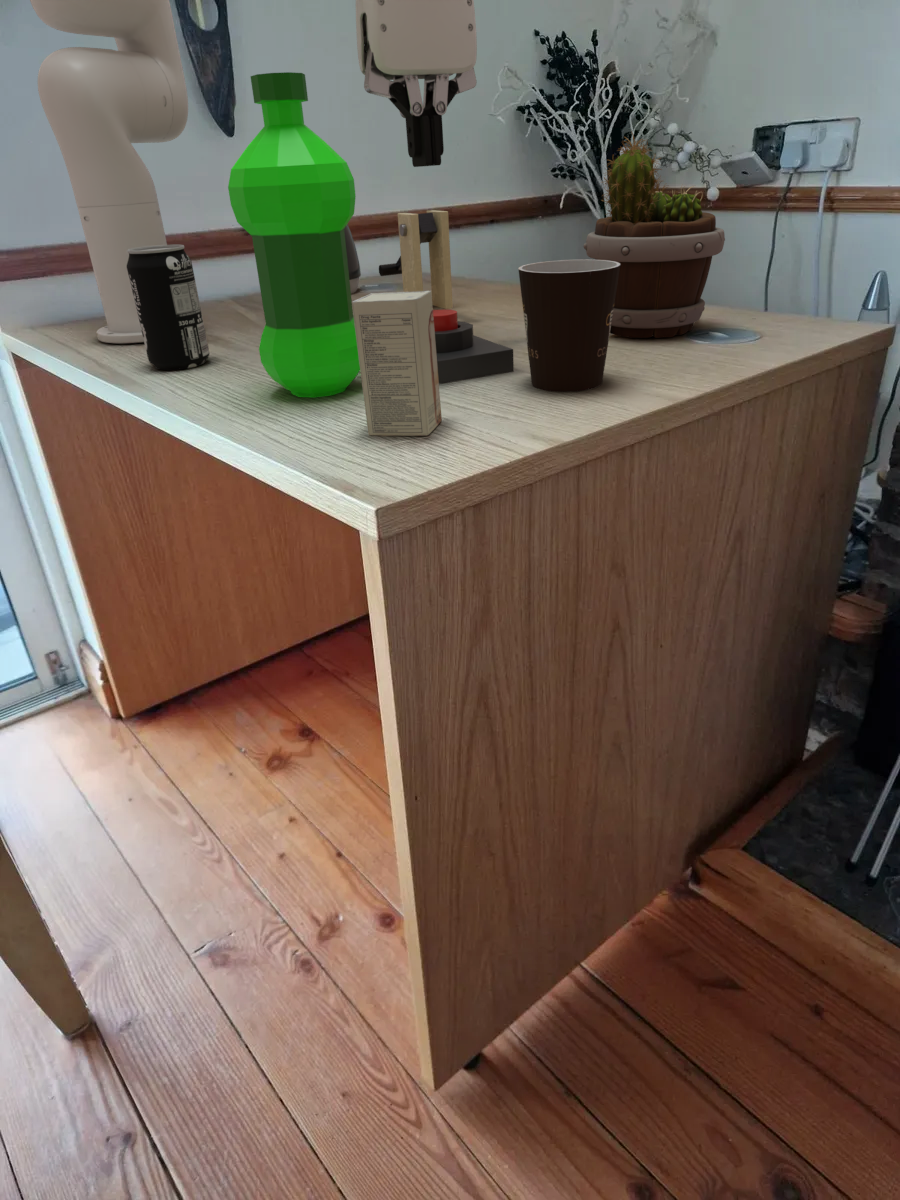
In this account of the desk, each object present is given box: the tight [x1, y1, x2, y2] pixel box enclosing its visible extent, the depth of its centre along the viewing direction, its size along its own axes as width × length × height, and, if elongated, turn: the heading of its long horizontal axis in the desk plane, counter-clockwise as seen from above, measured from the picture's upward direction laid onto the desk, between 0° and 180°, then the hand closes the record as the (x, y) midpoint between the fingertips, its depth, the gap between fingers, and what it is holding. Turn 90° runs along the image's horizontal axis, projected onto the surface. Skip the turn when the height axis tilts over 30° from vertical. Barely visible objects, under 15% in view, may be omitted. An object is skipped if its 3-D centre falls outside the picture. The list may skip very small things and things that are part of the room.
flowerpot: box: [583, 130, 726, 339], centre depth 87 cm, size 14×15×20 cm
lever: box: [378, 212, 437, 277], centre depth 104 cm, size 13×6×2 cm, turn 25°
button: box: [433, 308, 459, 331], centre depth 78 cm, size 4×4×2 cm
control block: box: [435, 320, 515, 385], centre depth 80 cm, size 12×10×4 cm
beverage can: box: [127, 244, 210, 371], centre depth 86 cm, size 7×7×12 cm
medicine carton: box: [352, 290, 443, 437], centre depth 61 cm, size 5×4×10 cm
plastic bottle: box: [227, 71, 360, 399], centre depth 69 cm, size 10×10×25 cm
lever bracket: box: [397, 209, 454, 310], centre depth 102 cm, size 10×8×13 cm
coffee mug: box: [517, 259, 620, 393], centre depth 71 cm, size 12×9×10 cm
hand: (426, 165), depth 75 cm, fingers closed
